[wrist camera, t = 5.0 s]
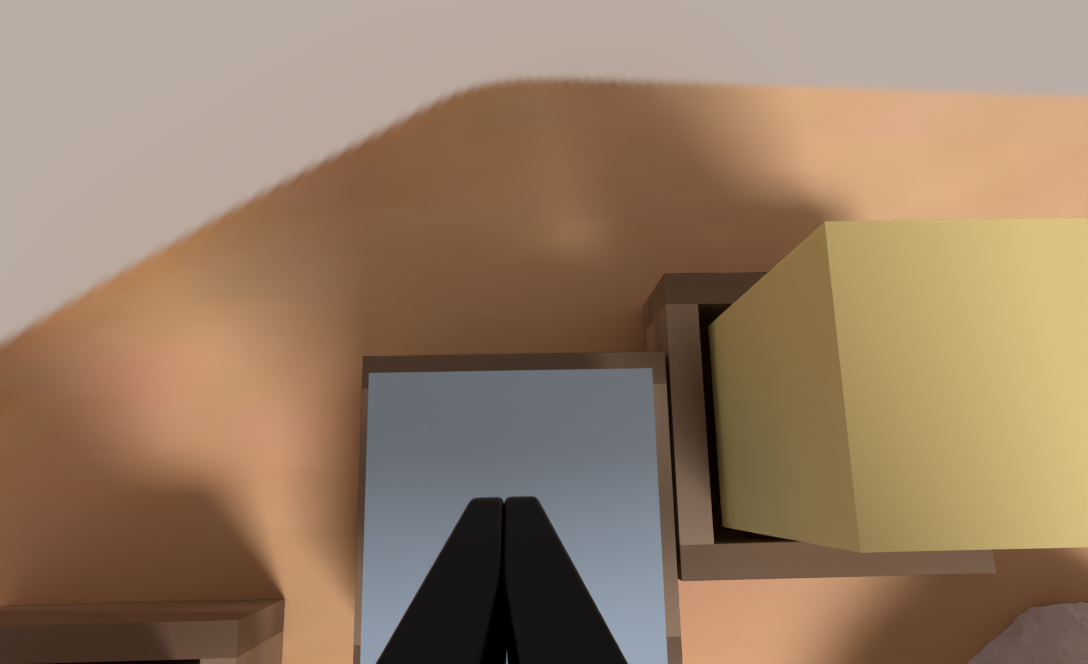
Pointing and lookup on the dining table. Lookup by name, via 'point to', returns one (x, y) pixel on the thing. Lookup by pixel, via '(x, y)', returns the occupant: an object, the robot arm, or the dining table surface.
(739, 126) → the dining table surface
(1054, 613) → the stone block
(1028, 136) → the dining table surface
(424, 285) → the dining table surface
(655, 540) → the blue-grey block
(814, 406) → the ochre block
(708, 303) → the walnut sockets
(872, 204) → the dining table surface
